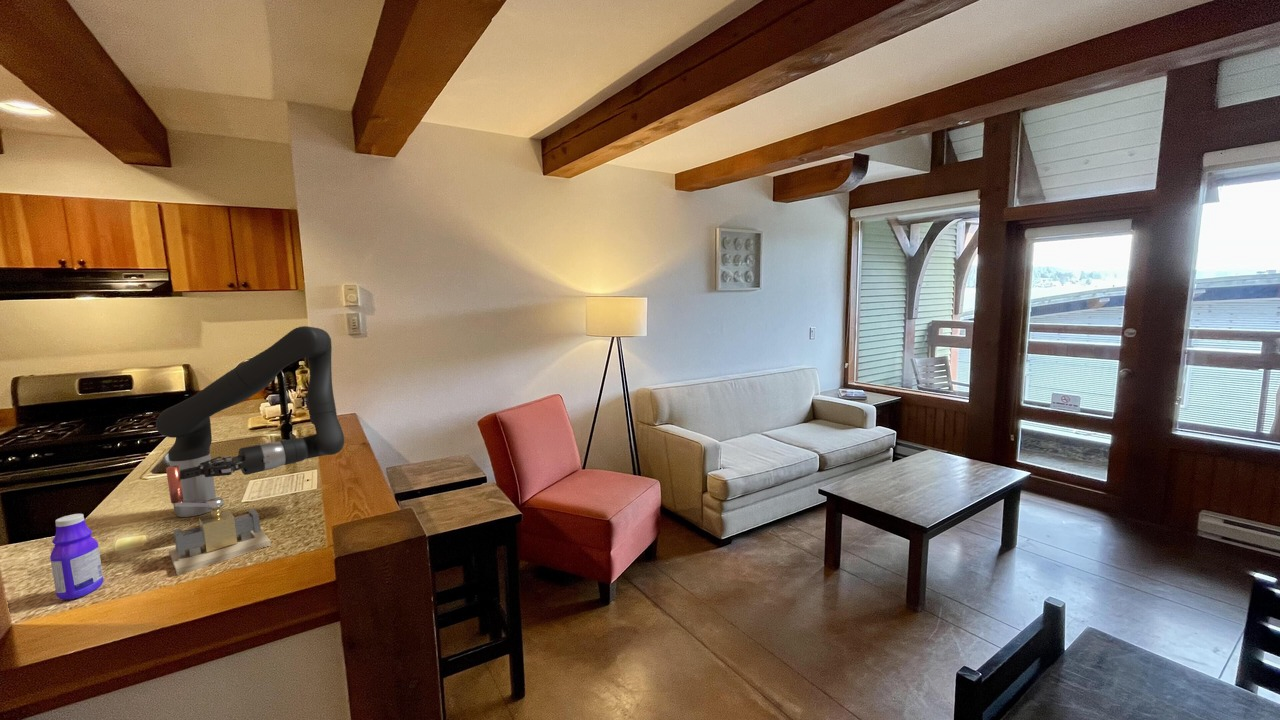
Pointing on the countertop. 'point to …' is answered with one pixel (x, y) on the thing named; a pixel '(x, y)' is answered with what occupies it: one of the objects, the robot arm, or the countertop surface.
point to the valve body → (216, 532)
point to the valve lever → (177, 492)
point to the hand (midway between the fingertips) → (179, 475)
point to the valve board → (217, 553)
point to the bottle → (75, 558)
